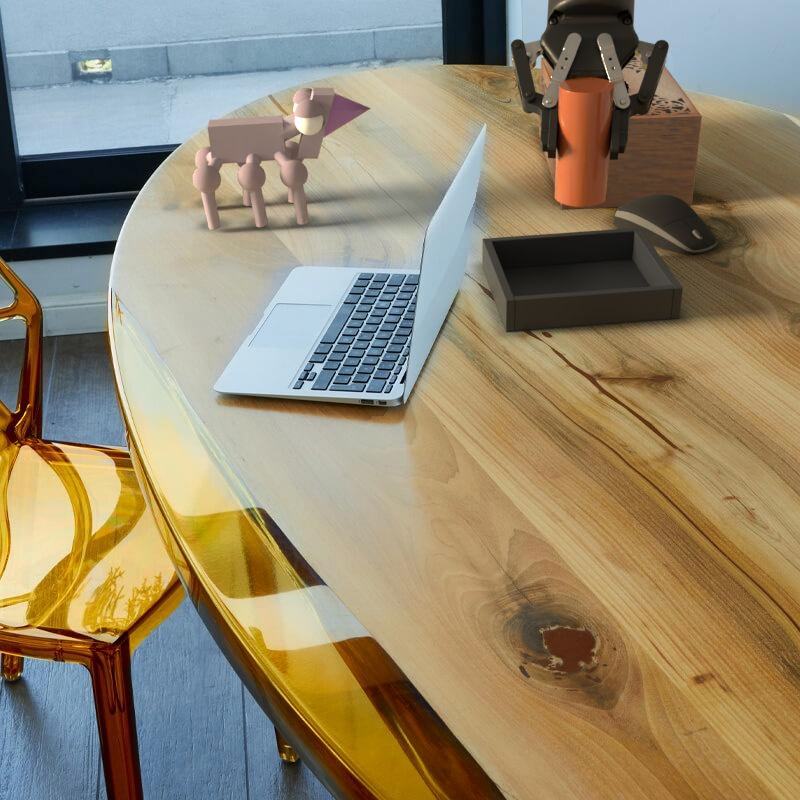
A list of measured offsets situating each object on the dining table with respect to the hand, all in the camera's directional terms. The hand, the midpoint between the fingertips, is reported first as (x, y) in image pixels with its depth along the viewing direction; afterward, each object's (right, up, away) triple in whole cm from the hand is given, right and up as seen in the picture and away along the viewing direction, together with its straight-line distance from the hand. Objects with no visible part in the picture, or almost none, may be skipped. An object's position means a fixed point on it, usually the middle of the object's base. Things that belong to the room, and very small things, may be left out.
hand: (583, 154), depth 92 cm
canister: (0, -3, +4) cm, 5 cm away
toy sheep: (-28, 0, +30) cm, 41 cm away
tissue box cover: (+10, +7, +39) cm, 41 cm away
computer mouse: (+12, -4, +20) cm, 24 cm away
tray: (+1, -11, +9) cm, 15 cm away
